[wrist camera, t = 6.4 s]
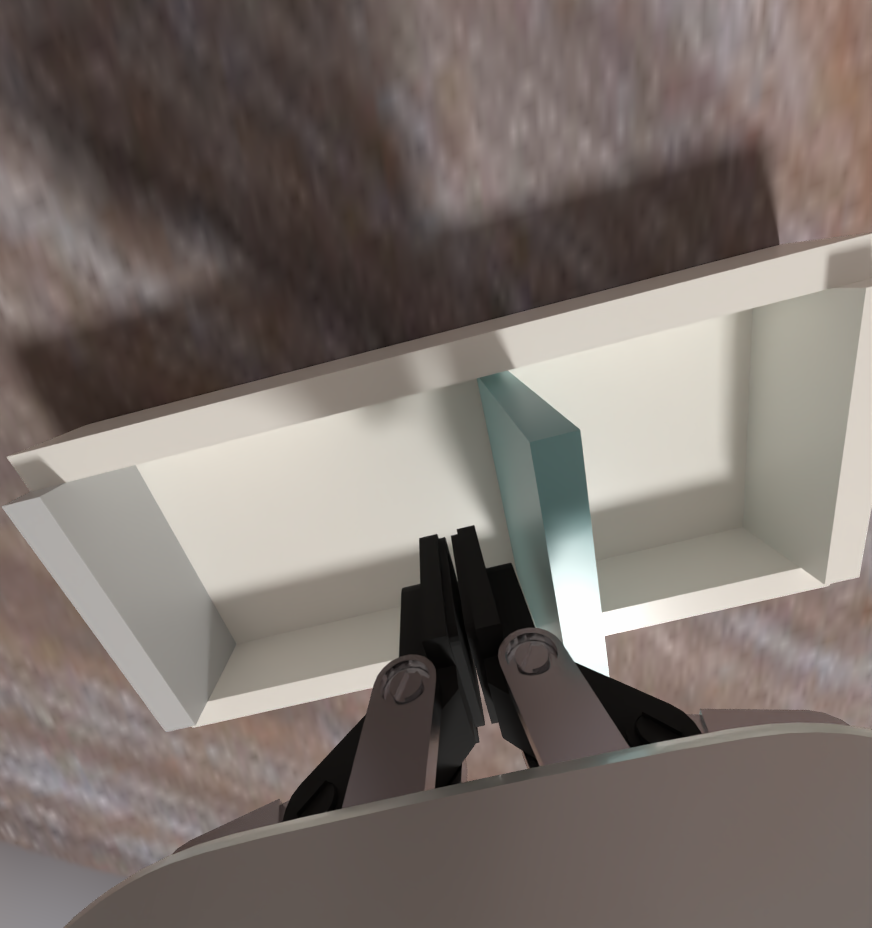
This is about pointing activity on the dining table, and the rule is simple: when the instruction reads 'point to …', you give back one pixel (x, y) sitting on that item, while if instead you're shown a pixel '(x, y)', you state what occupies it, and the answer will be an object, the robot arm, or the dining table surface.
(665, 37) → the dining table surface
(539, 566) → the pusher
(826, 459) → the white divided tray
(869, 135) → the dining table surface
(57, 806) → the dining table surface
